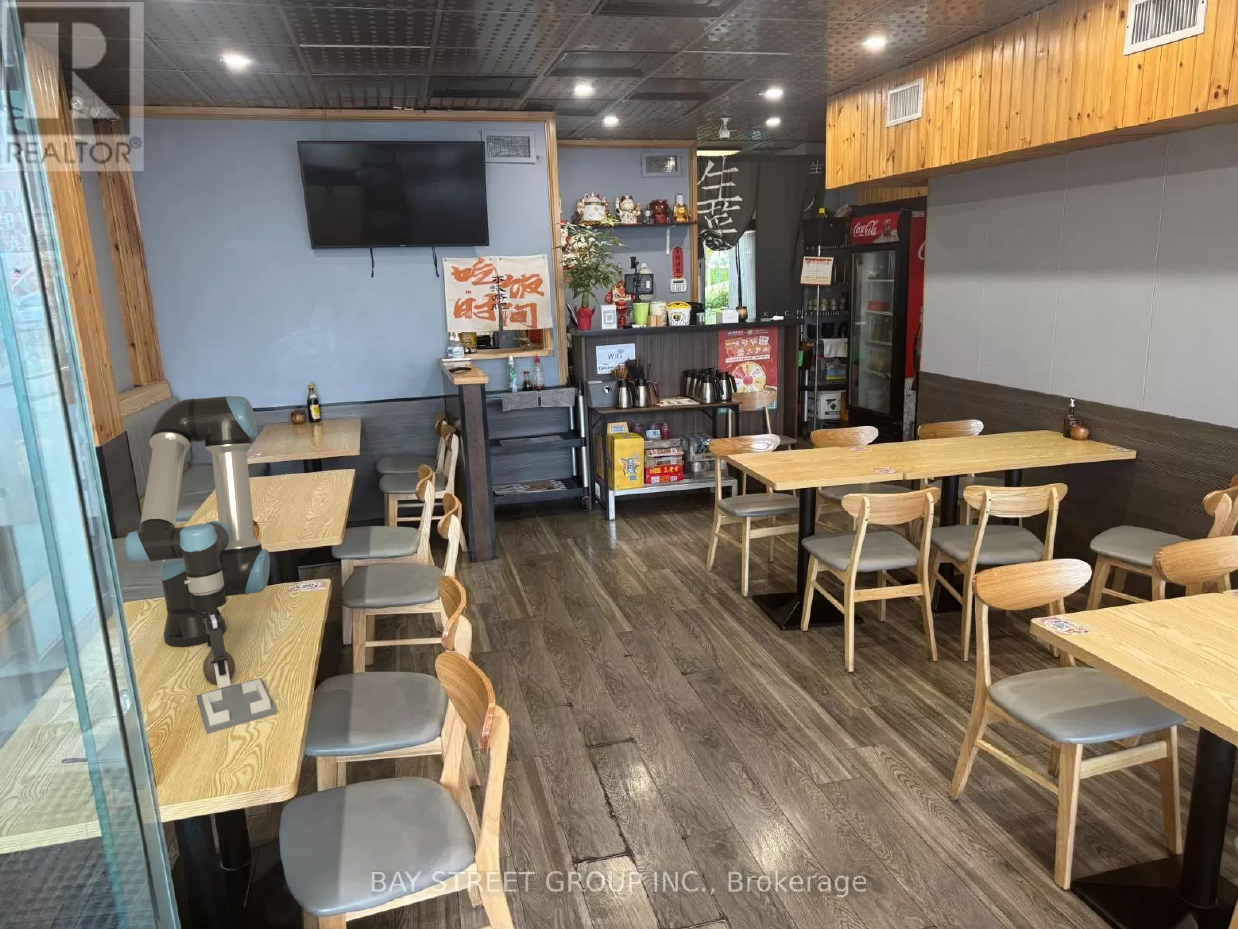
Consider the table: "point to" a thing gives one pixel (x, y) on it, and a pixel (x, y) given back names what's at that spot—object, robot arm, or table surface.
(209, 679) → the vase
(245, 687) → the board
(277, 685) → the table surface
